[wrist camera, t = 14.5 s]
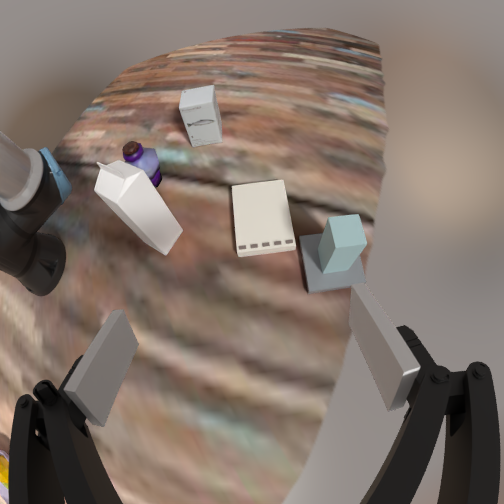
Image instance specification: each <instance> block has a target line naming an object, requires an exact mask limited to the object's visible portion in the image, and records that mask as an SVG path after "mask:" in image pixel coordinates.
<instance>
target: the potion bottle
mask: <svg viewBox="0 0 504 504" xmlns="http://www.w3.org/2000/svg"><path fill="white" fill-rule="evenodd" d="M122 151H123V157H124V159H125V160H126V161H125V163H127V164H130V165H132V166H135V167H137V168H140V169H142V170H144V172H145V173H146V175H147V176H148V178H149V179H150V181H151V183H152V184H153V186H154V187H155V188H156V187H158V186H159V184H160V182H161V181H162V176H161V173H160V171H159V169H160V166H159V161H158V157H157V154H156V151H155V149H152V148H143V147H142V145H141V144H140V143H137V142H134V141H131V142H129V143H127V144H126V145H125V146H124V147H123V150H122Z"/></svg>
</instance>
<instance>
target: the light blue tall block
mask: <svg viewBox="0 0 504 504" xmlns="http://www.w3.org/2000/svg"><path fill="white" fill-rule="evenodd" d="M366 245H367V241H366V238H365V234H364V231H363V227H362V224H361V220H360V217H359V214H356V215H346V216H337V217H328V220H327V223H326V226H325V229H324V232H323V235H322V238H321V241H320V244H319V247H318V253H319V258H320V263H321V268H322V273H323V274H325V273H332V272H339V271H345V270H348V269H349V268H350V267H351V265H352V264H353V263H354V261H355V260H356V259H357V257H358V256H359V255H360V253H361V252H362V250H363V249H364V248H365V246H366Z"/></svg>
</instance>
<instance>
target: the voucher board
mask: <svg viewBox="0 0 504 504" xmlns="http://www.w3.org/2000/svg"><path fill="white" fill-rule="evenodd" d="M232 196H233V209H234V221H235V233H236V245H237V254H238V257H243V256H251V255H259V254H267V253H275V252H283V251H291V250H295V248H296V243H295V238H294V232H293V227H292V221H291V216H290V211H289V206H288V201H287V196H286V191H285V186H284V181H283V180H275V181H266V182H258V183H250V184H243V185H236V186H232Z"/></svg>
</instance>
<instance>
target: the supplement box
mask: <svg viewBox="0 0 504 504" xmlns="http://www.w3.org/2000/svg"><path fill="white" fill-rule="evenodd" d="M179 110H180V113H181V116H182V119H183V121H184V124H185V127H186V130H187V133H188V136H189V138H190V141H191V144H192V147H196V146H201V145H208V144H214V143H222V122H221V118H220V113H219V108H218V103H217V99H216V94H215V89H214V85H211V86H205V87H200V88H194V89H190V90H185V91H182V94H181V99H180V105H179Z"/></svg>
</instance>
